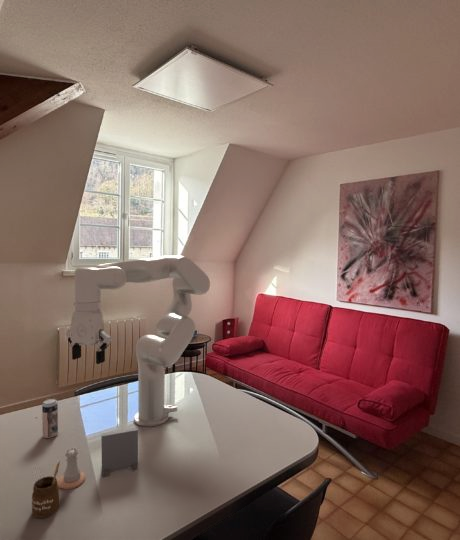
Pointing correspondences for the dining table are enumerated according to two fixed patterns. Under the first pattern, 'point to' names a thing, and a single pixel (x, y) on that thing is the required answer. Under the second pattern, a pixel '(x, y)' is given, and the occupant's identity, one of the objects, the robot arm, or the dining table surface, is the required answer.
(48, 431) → the beer can
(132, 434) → the grey upright panel
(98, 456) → the dining table surface
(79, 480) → the pink round domed part
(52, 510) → the utensil holder
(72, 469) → the rook chess piece
